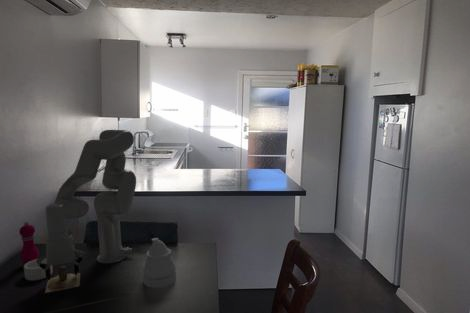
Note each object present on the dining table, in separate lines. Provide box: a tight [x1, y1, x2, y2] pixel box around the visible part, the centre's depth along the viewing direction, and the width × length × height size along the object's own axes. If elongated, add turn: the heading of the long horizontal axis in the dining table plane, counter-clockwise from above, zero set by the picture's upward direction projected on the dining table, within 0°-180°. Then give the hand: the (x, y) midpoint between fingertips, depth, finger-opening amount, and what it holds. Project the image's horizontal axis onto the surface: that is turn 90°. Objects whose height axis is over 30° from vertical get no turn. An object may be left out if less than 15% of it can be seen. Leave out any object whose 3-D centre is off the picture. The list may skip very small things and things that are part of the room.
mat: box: [44, 272, 81, 294], centre depth 139 cm, size 12×12×1 cm
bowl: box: [23, 259, 54, 281], centre depth 145 cm, size 10×10×6 cm
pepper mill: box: [19, 221, 40, 268], centre depth 155 cm, size 7×7×20 cm
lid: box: [49, 265, 77, 289], centre depth 138 cm, size 10×10×6 cm
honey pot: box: [142, 237, 177, 289], centre depth 139 cm, size 13×13×18 cm
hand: (63, 276), depth 138 cm, fingers open, 9 cm apart
